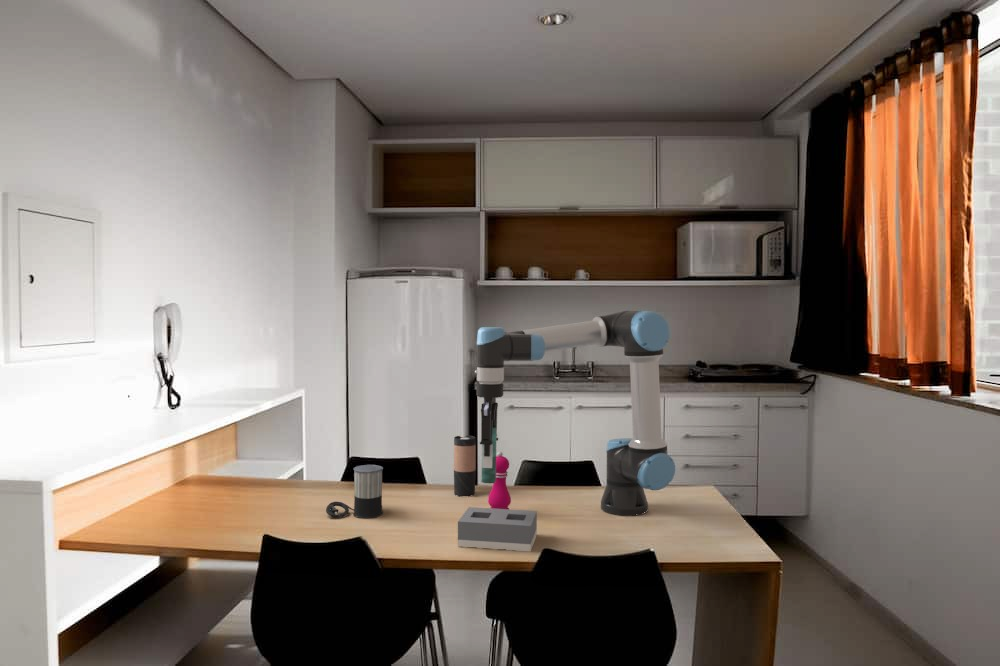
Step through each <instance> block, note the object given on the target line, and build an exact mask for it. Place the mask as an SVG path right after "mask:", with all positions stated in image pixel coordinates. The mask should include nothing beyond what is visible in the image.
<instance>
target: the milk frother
mask: <svg viewBox="0 0 1000 666" xmlns="http://www.w3.org/2000/svg"><path fill="white" fill-rule="evenodd" d="M383 469H384V467H383V466H381V465H376V464H364V465H363V464H362V465H356V466H355V467H353V471H354V473H353V477H354V487H353V489H354V494H353V495H354V498H353V499H354V500H353V501H354V503H353V507H354V508H352V507H350V506H349V505H347V504H346V503H343V502H341V501H331V502H330V503H328V505H327V506H326V507H325V512H326V514H327V515H328V516H330V517H332V518H344V517H347V516H348V514H349V513H350V512H349V511H350V510H352V511H353V513H352V514H353V516H354V517H356V518H360V519H374V518H378V517H380V516H382V515H383V513H384V512H383V501H382V500H383ZM337 507H341V508H343V509H344V512H341V513H340V512H339V509H338V508H337Z"/></svg>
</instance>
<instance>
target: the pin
mask: <svg viewBox="0 0 1000 666" xmlns="http://www.w3.org/2000/svg"><path fill="white" fill-rule="evenodd" d="M497 431H498V427H497V428H494V427H493V428H492V444H493V457H492V468H482V467H481V480H480V481H481V483H483V484H493V483H495V482H496V456H497V441H496V438H497V437H496V434H497V435H498V433H497ZM482 451H483V444H481V452H482Z"/></svg>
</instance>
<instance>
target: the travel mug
mask: <svg viewBox="0 0 1000 666" xmlns="http://www.w3.org/2000/svg"><path fill="white" fill-rule="evenodd" d="M453 438H454V439H453V492H454V495H455V496H456V495H458V496H457V497H460V496H468V497H472V496H471V495H473V496H474V495H475V492H476V473H477V472H476V471H477V469H476V468H477V467H476V466H477V465H476V463H477V461H476V452H477V451H476V444H477V443H476V437H475V436H473V435H466V436H460V435H456V436H454V437H453Z"/></svg>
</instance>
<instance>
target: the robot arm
mask: <svg viewBox="0 0 1000 666" xmlns="http://www.w3.org/2000/svg"><path fill="white" fill-rule="evenodd" d="M476 335H477V336H476V337H477V338H476V355H477V356H476V369H475V371H474V373H475V374H476V381H477V383H476V393H475V395H476V397H479V398H483V403H481V409H480V413H481V414H480V415H481V419H480V420H481V425H480V426H481V427H480V428H481V429H480V431H481V432H480V433H481V435H480V439H481V440H480V441H479V445H482V444H483V451H482V450H481V469H482V468H492V457H493V444H492V428H493V427H494V428H497V429H498V406H499V404H498V402H497V401H496V399H498V398H502V397H503V396H504V383H502V382H504V380H505V362H509V361H511V362H512V361H513V362H514V361H515V362H518V361H519V362H525V361H526V362H534V361H541V360H542V359H543V358H544V356H545V353H547V352H552V351H553V352H554V351H561V350H567V349H572V348H579V347H580V348H581V347H587V346H594V345H596V347H600V348H601V347H620V348H621V347H622V348H623V352H624V353H623V354H624V355H623V356H624V357H625V358H626V359H627V360H628V361H629V373H630V374H629V375H630V397H631V399H630V401H631V419H632V421H631V422H632V437H631V438H628V437H627V438H624V437H623V438H612V439H609V440H608V442H607V445H606V485H605V488H604V492H603V494H602V497H601V498H600V499H601V500H600V509H601V510H602V511H603V512H605V513H607V512H608V514H611V513H612V514H611V515H616V514H618V515H617V516H625V515H632V516H637V515H636V514H641V515H643V514H642V513H644V512H646V511H647V510H648V511H649V504H648V503H649V502H648V499H647V496H646V493H645V490H650V491H661V490H662V489H665V488H666V487H667V486H669V484H670V483H671V482H672V481H673V479H674V476H675V474H676V464H675V461H674V459H673V458H672V456H670V455H669V454H668V443H667V441H666V440H664V439H663V438H662V435H663V434H662V415H661V414H662V413H661V391H660V388H661V387H660V386H661V385H660V370H659V369H660V367H659V361H660V360H661V358H662V357H663V356H664V348H665V347H666V346H667V343H669V340H670V336H671V330H670V326H669V323H668V321H667V320H666V319H665V317H663V315H662V314H660V313H658V312H656V311H650V310H623V311H617V312H614V313H610V314H606V315H600V316H595V317H594V318H592V320H588V321H581V322H574V323H566V324H558V325H552V326H545V327H536V328H531V329H523V330H516V331H510V332H507V331H505V329H504V327H500V326H497V327H495V326H492V327H491V326H483V327H479V329H477V334H476ZM497 436H498V433H497V434H496V442H498V441H499V437H497ZM644 489H645V490H644ZM648 511H647V512H648ZM647 512H646V513H647ZM644 514H645V513H644Z"/></svg>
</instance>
